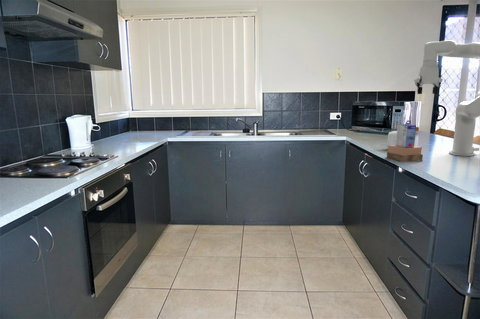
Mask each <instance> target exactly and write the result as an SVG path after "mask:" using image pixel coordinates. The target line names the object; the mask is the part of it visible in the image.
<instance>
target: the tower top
mask: <svg viewBox="0 0 480 319" xmlns="http://www.w3.org/2000/svg"><path fill="white" fill-rule="evenodd" d="M422 148H423V147H421V146H417V145H414V147H402V146H398V145H388V149H387V152H389V153H393V154H398V155H402V156H404V155H419V154H422V151H423V150H422Z"/></svg>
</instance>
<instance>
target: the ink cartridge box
mask: <svg viewBox="0 0 480 319" xmlns="http://www.w3.org/2000/svg"><path fill="white" fill-rule="evenodd" d="M411 122H412V120H409V119H408V120H407V121H406V122H404V123H399V124H397V128H396V131H397V137H396V145H398V146H402V147H414V146H415V142H416V130H417V125H414V124H411Z"/></svg>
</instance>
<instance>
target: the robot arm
mask: <svg viewBox="0 0 480 319" xmlns="http://www.w3.org/2000/svg"><path fill="white" fill-rule="evenodd" d="M423 45H424V47H423V54H422V55H423V56H422V57H423V59H422V66H421V67H420V70H419V72H418V77H417V78H415V79H413V81H414V84H415V86H416V88H417V91H416V92H417V95H422V94H423V85H432V86H433V87H432V94H433V95H435V94H438V89H439V87H440V86H441V85H442V82H443V78H441V77H439V74H440V73H439V70H440V69H439V66H438V65H439V64H440V61H438V60H439V56H440V57H441V56H442V57H449V58H462V59H476V60H478V59H479V60H480V42H479V41H477V42H469V43H456V41H454V40H451V39H448V40H441V41H429V42H426V43H424V44H423ZM479 117H480V91H478V92H477V93H476V94H475V96H474V99H472V100H465V101H462V102H460V103H459V104H457V106H456V108H455V124H454V135H453V144H452V150H449V152H448V154H449V155H454V156H463V157H473V156H475V155H476V154H475V152H479V151H480V147H474V146H473V144H474V136H475V130H476V119H477V118H479Z"/></svg>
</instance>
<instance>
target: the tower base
mask: <svg viewBox="0 0 480 319" xmlns="http://www.w3.org/2000/svg"><path fill="white" fill-rule="evenodd" d="M386 158H388V159H391V160H393V161H396V162H400V163H401V162H423V154H422V153H421V154H419V155H404V156H402V155H398V154H393V153H389V152H388V151H386Z"/></svg>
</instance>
